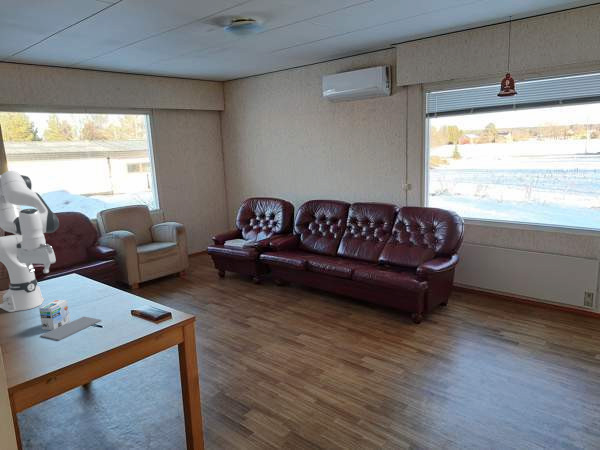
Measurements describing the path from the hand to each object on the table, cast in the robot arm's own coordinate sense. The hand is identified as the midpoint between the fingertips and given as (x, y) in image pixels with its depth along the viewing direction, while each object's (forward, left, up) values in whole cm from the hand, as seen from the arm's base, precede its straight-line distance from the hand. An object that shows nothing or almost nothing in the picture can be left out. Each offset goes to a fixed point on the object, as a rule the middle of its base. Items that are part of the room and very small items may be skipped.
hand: (39, 272), depth 198 cm
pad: (+19, -1, -25) cm, 31 cm away
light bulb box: (+9, -1, -25) cm, 27 cm away
